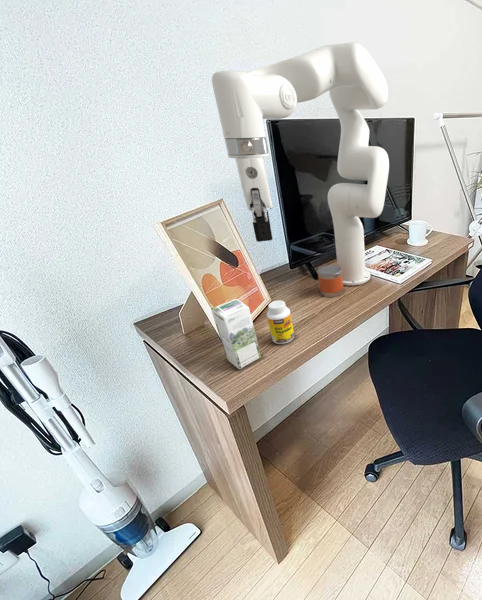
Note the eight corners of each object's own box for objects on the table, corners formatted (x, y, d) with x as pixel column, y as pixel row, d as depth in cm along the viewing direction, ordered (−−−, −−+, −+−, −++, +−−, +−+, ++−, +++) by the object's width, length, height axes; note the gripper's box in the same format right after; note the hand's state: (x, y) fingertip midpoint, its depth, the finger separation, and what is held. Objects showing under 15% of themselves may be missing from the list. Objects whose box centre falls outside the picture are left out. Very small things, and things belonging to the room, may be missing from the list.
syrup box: (249, 348, 80) (234, 297, 73) (262, 358, 77) (248, 305, 69) (227, 360, 76) (209, 307, 69) (239, 371, 73) (222, 316, 66)
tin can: (320, 287, 108) (317, 265, 104) (343, 285, 109) (341, 264, 105) (319, 298, 102) (316, 275, 98) (343, 296, 102) (341, 273, 98)
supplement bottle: (276, 348, 80) (268, 312, 75) (269, 337, 84) (261, 302, 79) (298, 340, 82) (291, 305, 77) (290, 330, 87) (284, 296, 82)
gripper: (269, 150, 57) (284, 244, 66) (266, 145, 72) (279, 222, 80) (223, 152, 55) (245, 248, 63) (229, 146, 70) (246, 225, 78)
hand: (264, 234), depth 72 cm, fingers open, 9 cm apart
